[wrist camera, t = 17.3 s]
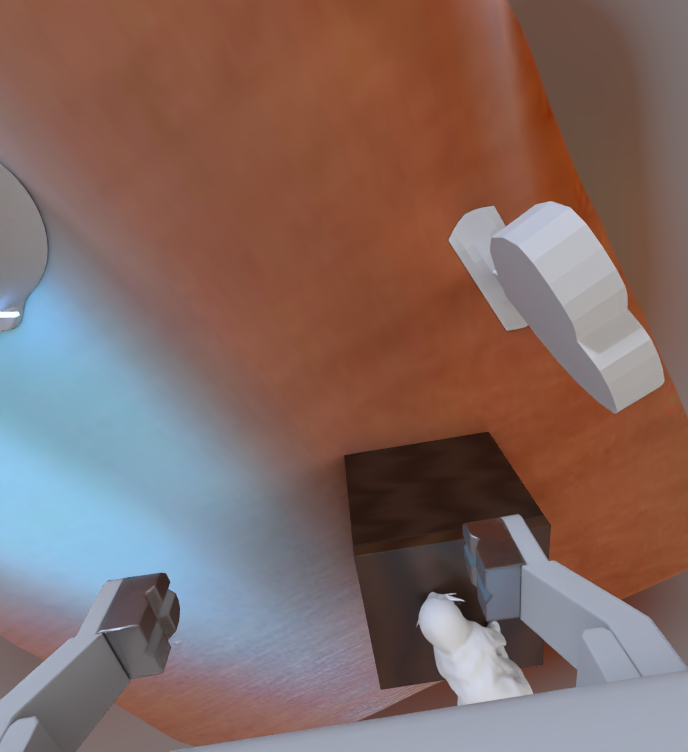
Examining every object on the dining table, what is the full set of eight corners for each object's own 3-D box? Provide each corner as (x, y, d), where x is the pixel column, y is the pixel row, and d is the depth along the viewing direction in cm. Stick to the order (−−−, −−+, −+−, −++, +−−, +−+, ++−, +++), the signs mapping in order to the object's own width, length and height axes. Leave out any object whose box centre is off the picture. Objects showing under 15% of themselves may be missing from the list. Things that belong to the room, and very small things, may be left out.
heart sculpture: (557, 315, 46) (692, 394, 29) (515, 344, 47) (622, 436, 30) (483, 187, 40) (598, 195, 24) (437, 223, 41) (516, 254, 25)
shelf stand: (366, 571, 59) (380, 690, 46) (344, 455, 51) (354, 556, 38) (491, 552, 59) (543, 664, 46) (488, 431, 51) (551, 525, 37)
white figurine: (485, 767, 36) (405, 684, 33) (460, 667, 44) (393, 593, 41) (555, 737, 35) (479, 648, 32) (515, 640, 43) (451, 561, 40)
